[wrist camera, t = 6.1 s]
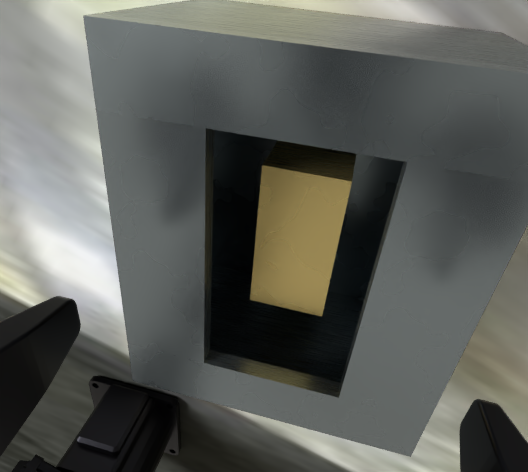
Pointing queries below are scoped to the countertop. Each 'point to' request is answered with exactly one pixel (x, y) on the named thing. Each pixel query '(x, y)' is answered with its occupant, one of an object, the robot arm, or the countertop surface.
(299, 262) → the block
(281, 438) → the countertop surface
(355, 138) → the box
